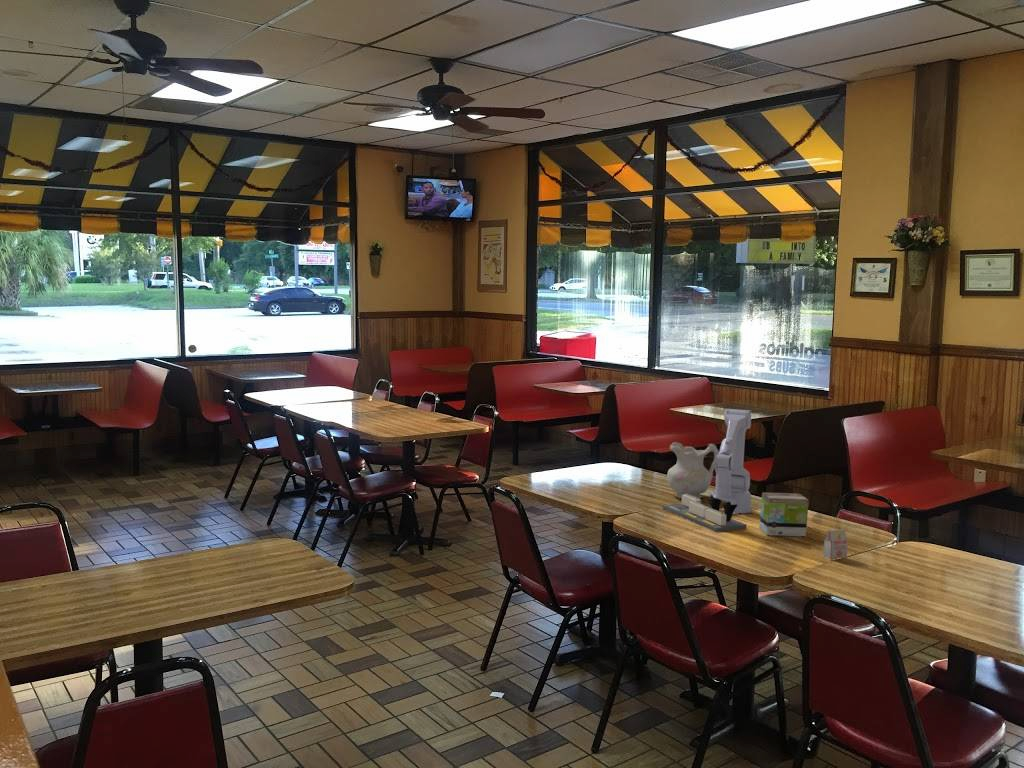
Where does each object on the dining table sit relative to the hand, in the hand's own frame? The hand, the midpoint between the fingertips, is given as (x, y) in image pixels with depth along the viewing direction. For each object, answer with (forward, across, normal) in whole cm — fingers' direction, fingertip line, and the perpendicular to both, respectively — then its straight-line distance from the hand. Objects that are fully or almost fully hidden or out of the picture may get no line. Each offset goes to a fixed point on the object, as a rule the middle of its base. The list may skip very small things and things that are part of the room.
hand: (721, 518), depth 337 cm
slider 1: (+1, -23, +2) cm, 23 cm away
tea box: (+3, +16, +16) cm, 23 cm away
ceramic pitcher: (+3, -43, +16) cm, 46 cm away
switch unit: (+3, -12, 0) cm, 12 cm away
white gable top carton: (+3, +47, +12) cm, 49 cm away
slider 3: (+1, 0, -3) cm, 3 cm away
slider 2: (+1, -11, -2) cm, 12 cm away
